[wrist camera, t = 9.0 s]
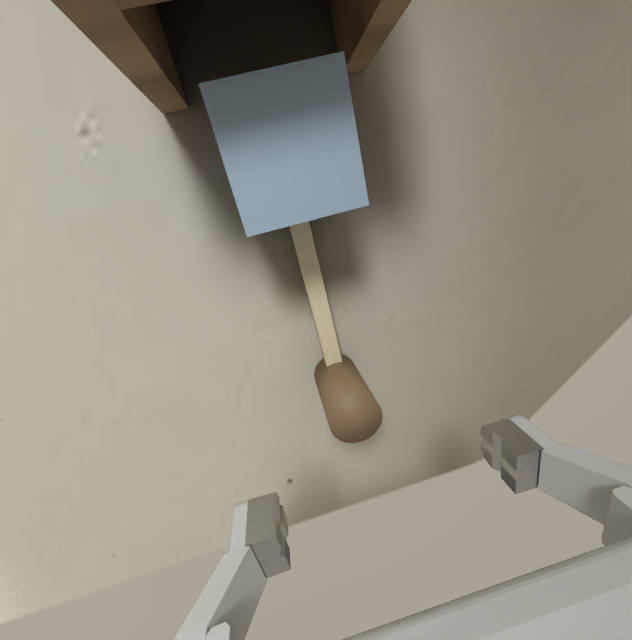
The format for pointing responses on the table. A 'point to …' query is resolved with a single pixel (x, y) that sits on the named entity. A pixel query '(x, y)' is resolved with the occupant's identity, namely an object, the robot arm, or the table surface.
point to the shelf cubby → (155, 57)
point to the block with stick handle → (299, 191)
